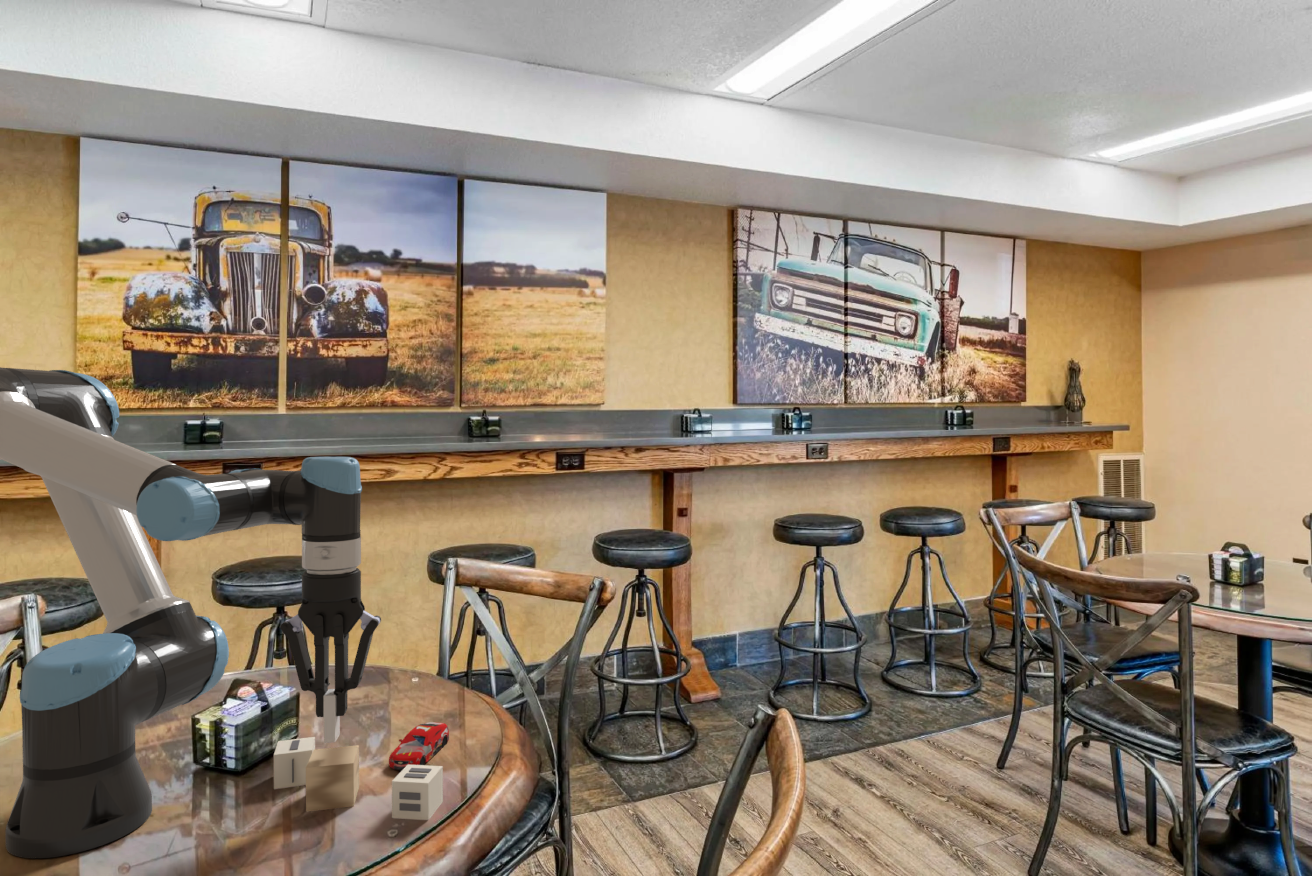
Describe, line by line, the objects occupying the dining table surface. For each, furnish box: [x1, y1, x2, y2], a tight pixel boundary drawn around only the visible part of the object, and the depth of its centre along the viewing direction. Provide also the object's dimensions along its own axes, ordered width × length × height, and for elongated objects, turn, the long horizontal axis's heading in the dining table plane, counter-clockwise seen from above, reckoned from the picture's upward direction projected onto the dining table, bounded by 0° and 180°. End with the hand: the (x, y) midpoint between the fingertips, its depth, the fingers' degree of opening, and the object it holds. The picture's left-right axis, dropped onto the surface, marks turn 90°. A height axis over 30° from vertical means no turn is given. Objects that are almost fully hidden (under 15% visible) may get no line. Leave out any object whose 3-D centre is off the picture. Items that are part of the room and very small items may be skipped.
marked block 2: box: [391, 764, 444, 821], centre depth 105 cm, size 5×5×5 cm
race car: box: [388, 721, 450, 771], centre depth 122 cm, size 13×5×4 cm, turn 169°
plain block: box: [305, 744, 360, 813], centre depth 108 cm, size 6×6×6 cm
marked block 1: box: [273, 736, 316, 790], centre depth 113 cm, size 5×6×5 cm
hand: (331, 738), depth 108 cm, fingers closed
